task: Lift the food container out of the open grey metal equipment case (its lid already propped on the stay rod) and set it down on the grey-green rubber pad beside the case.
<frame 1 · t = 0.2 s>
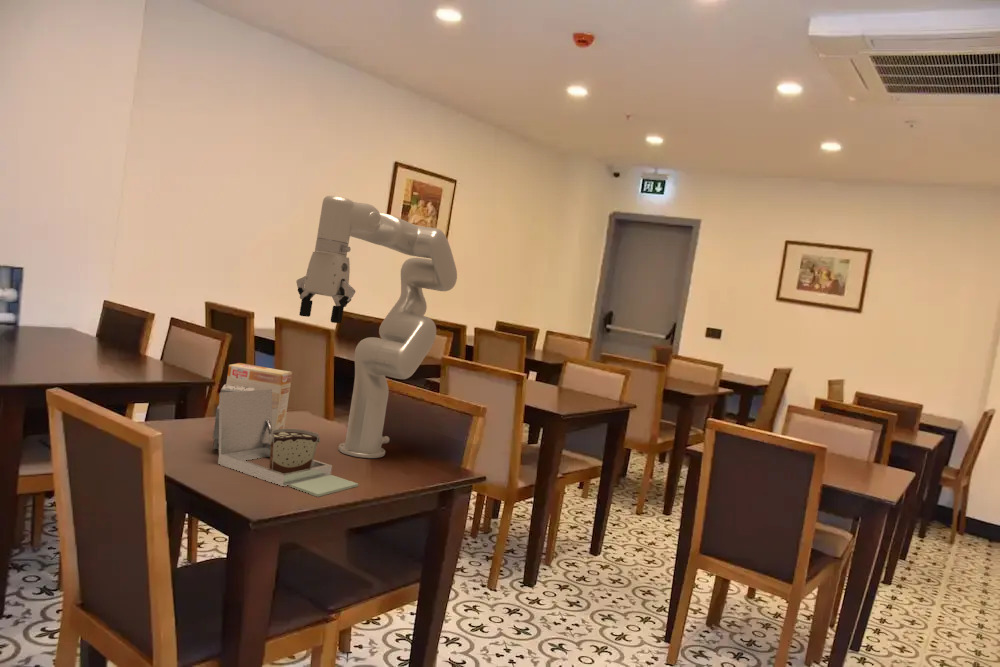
hand: (320, 319, 180), 36 cm above the table, tool pointing down, fingers open, 9 cm apart
circuit breaker: (229, 450, 186), on the table
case: (275, 469, 176), on the table
mat: (324, 486, 169), on the table
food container: (284, 474, 174), resting in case
coffeecake box: (250, 440, 199), on the table
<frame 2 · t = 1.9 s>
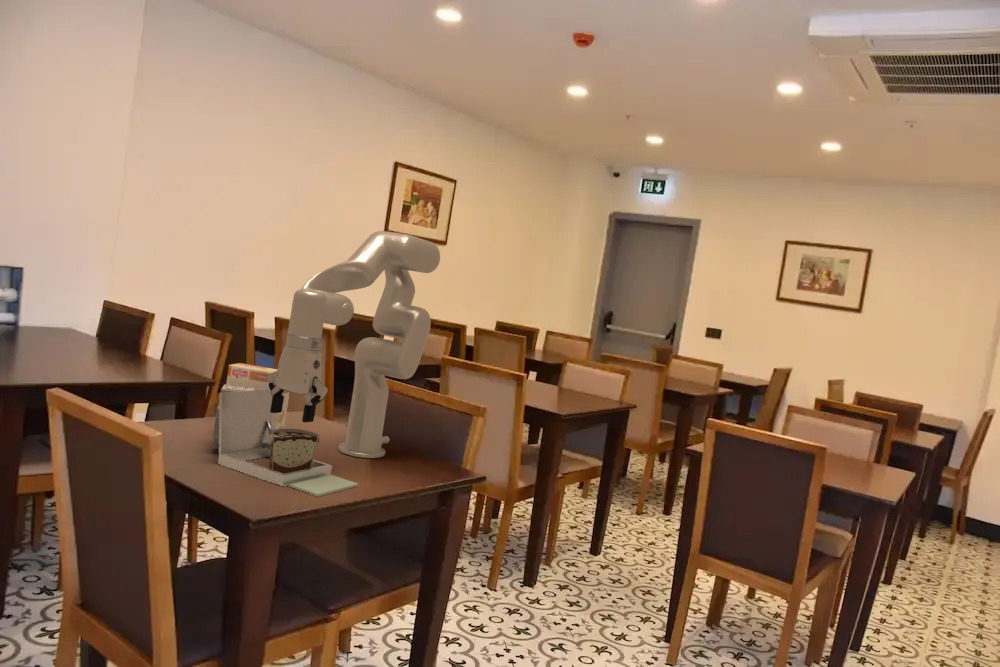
hand: (291, 417, 173), 13 cm above the table, tool pointing down, fingers open, 9 cm apart
nothing on the table moved.
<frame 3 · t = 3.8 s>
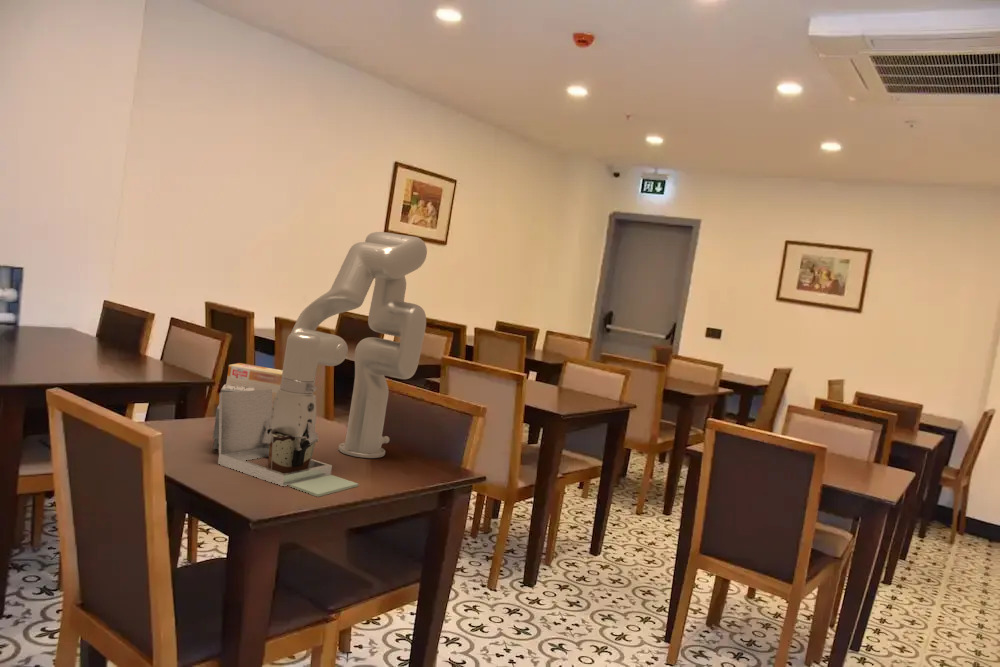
hand: (286, 461, 174), 3 cm above the table, tool pointing down, fingers closed on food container, 6 cm apart
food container: (282, 473, 174), resting in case, touching gripper
everything else where it was.
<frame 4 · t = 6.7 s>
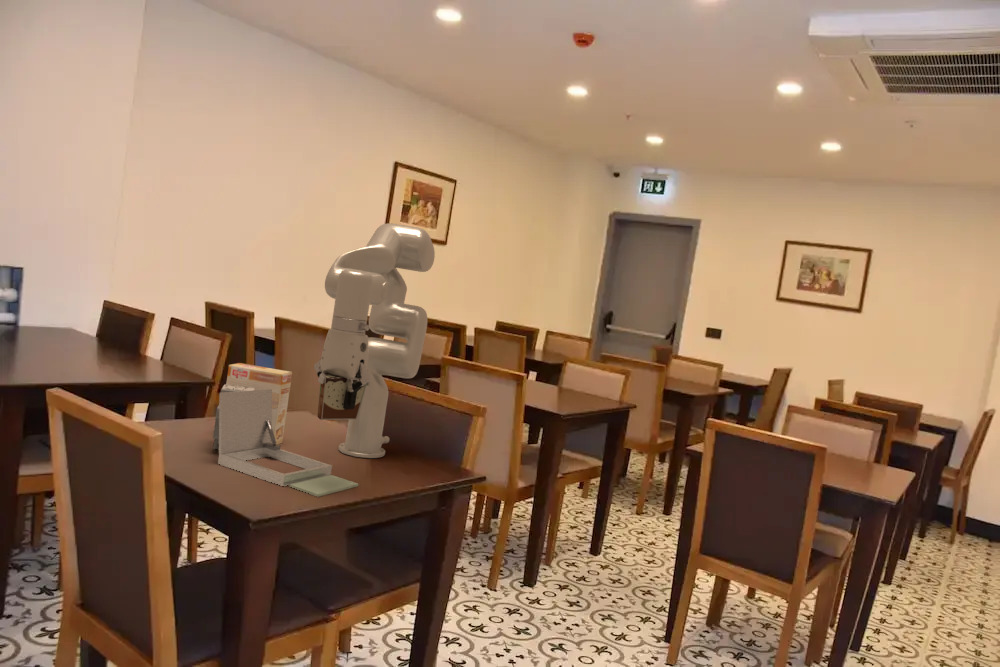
hand: (337, 404, 168), 19 cm above the table, tool pointing down, fingers closed on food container, 6 cm apart
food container: (331, 416, 168), point 16 cm above the table, touching gripper
everything else where it was.
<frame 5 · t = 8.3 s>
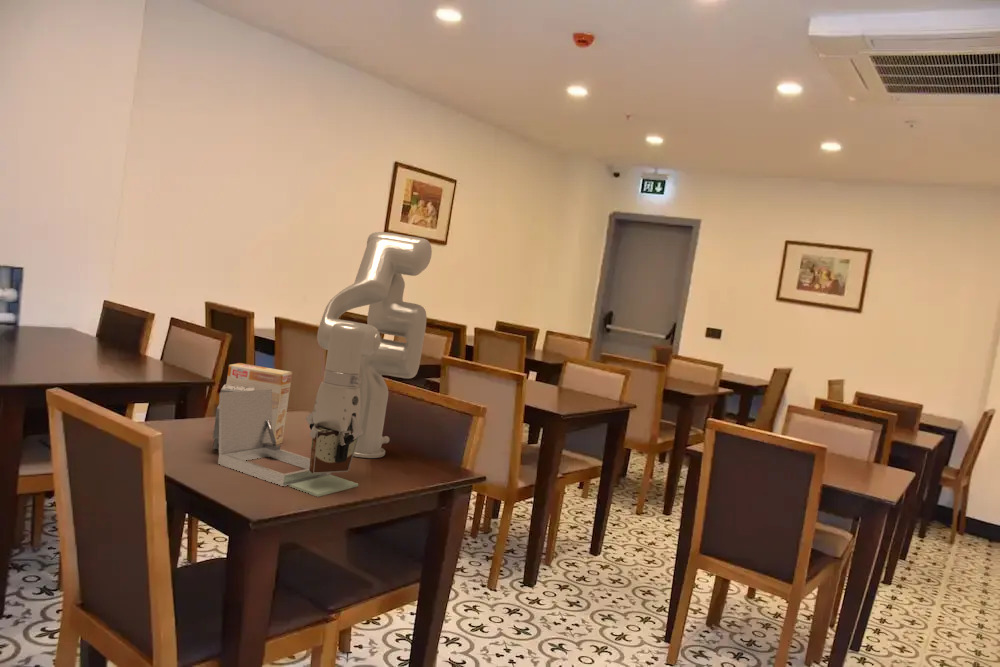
hand: (328, 457, 168), 7 cm above the table, tool pointing down, fingers closed on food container, 6 cm apart
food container: (323, 468, 169), point 4 cm above the table, touching gripper
everything else where it was.
when the fingers open (4 cm above the table, at t = 9.7 s): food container stays where it is, resting on mat.
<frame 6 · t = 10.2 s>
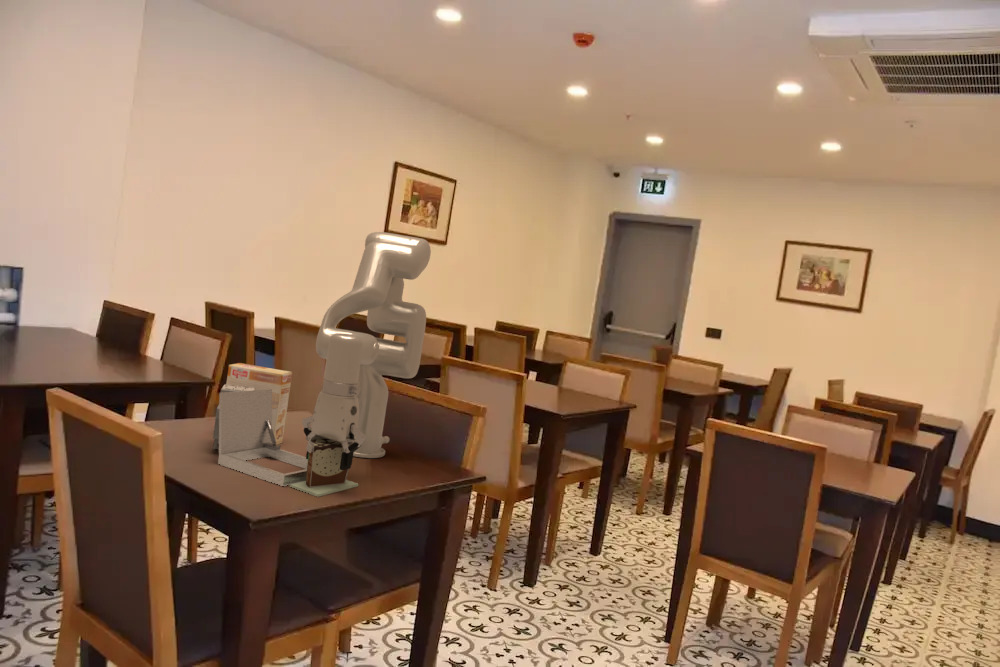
hand: (328, 463, 169), 5 cm above the table, tool pointing down, fingers open, 9 cm apart
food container: (319, 481, 170), point 1 cm above the table, touching gripper, mat
everything else where it was.
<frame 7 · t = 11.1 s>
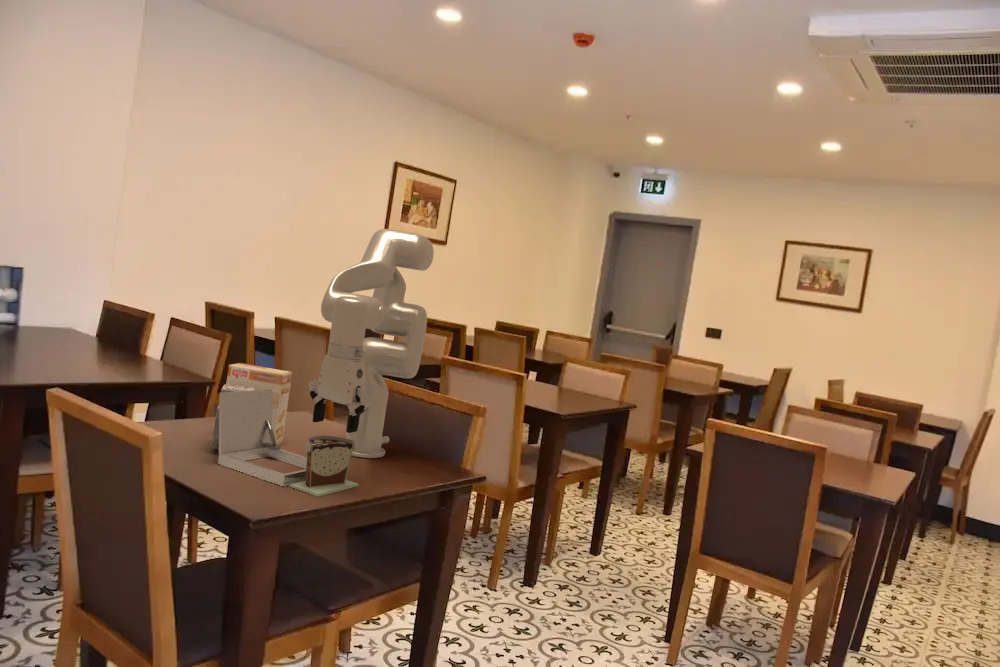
hand: (334, 426, 169), 14 cm above the table, tool pointing down, fingers open, 9 cm apart
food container: (319, 482, 170), resting on mat
everything else where it was.
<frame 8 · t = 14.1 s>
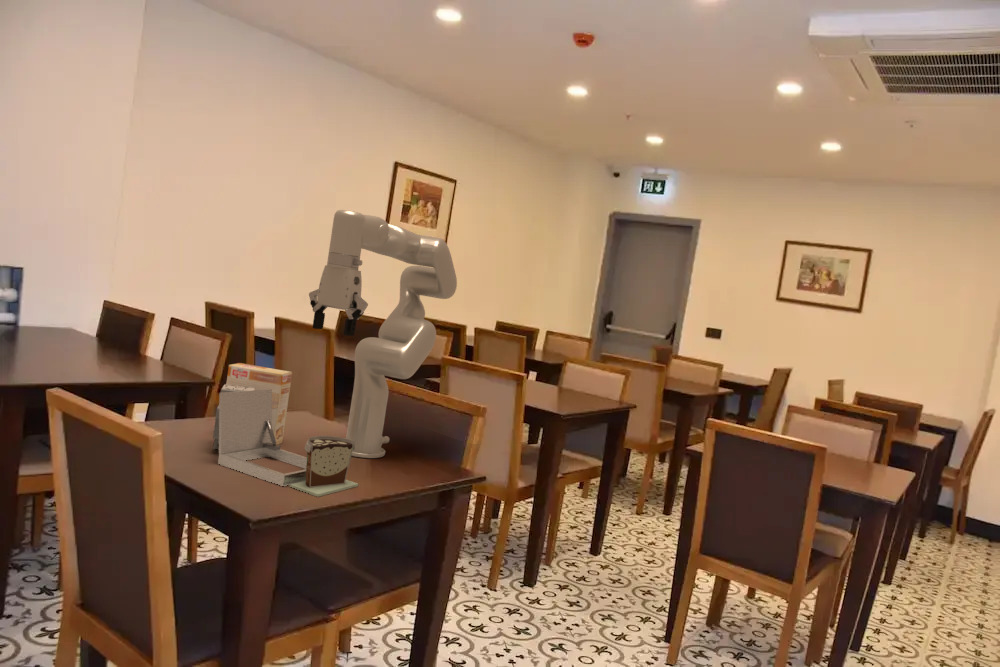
hand: (333, 332, 183), 33 cm above the table, tool pointing down, fingers open, 9 cm apart
nothing on the table moved.
at the end: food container inside the target area on the mat (1.8 cm from its centre), point 0.4 cm above the mat's base; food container tilted 0°; the gripper is holding nothing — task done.
